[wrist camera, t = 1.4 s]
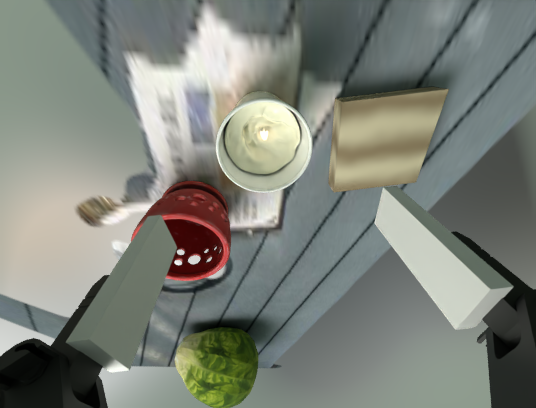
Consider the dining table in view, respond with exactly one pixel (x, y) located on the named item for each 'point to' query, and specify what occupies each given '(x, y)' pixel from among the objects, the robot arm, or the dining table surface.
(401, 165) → the plinth
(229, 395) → the lettuce
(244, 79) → the dining table surface
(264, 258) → the dining table surface
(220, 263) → the plant pot
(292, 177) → the candle holder
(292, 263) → the dining table surface
